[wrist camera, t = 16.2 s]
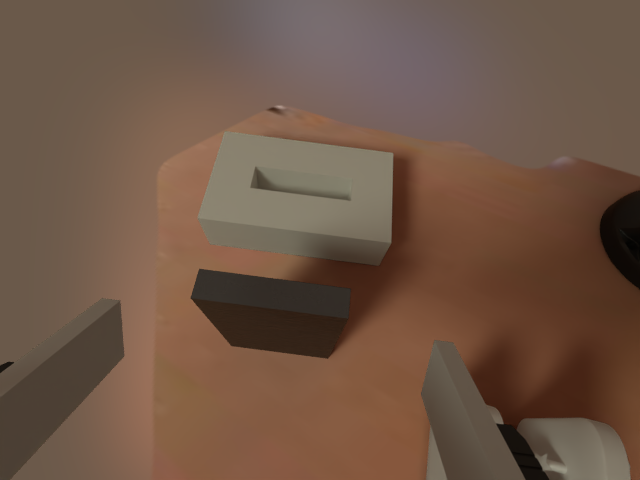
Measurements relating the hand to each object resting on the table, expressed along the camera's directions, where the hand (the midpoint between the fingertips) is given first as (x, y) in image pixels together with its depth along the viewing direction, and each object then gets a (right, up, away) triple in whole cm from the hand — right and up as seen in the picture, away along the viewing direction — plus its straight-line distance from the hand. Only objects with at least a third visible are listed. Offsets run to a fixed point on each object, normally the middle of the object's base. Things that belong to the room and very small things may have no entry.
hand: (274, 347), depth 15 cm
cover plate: (-2, -6, +22) cm, 23 cm away
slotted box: (0, +8, +29) cm, 30 cm away
